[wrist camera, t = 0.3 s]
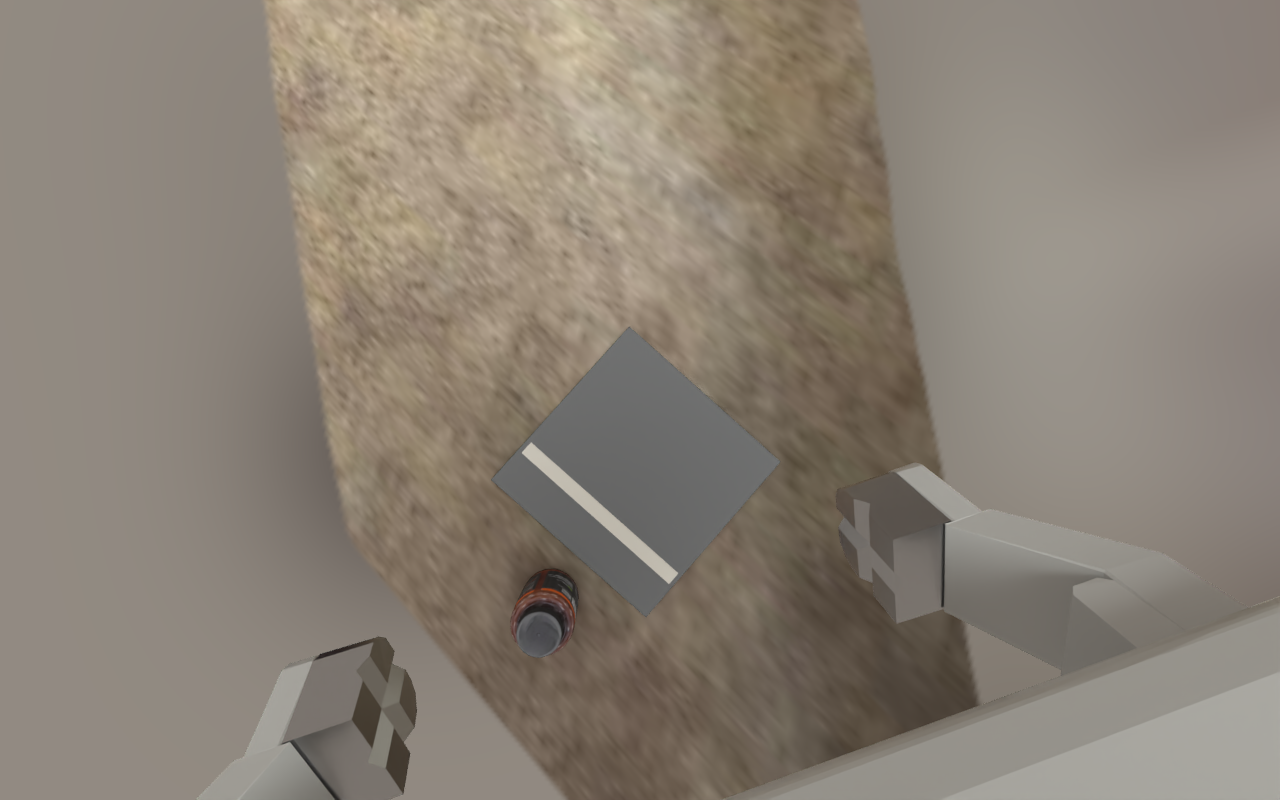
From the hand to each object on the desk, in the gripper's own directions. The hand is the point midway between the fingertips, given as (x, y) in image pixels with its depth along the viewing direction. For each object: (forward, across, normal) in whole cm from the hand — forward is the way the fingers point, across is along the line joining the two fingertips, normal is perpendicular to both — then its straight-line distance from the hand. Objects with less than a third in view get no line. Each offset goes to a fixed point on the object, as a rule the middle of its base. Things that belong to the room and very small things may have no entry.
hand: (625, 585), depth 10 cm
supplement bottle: (+41, -9, -36) cm, 56 cm away
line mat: (+45, +3, -27) cm, 53 cm away
